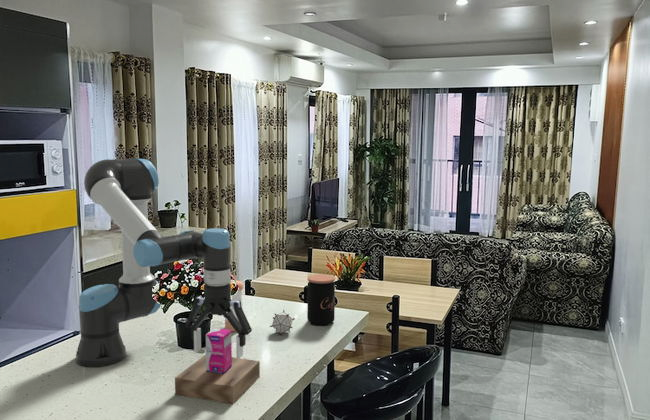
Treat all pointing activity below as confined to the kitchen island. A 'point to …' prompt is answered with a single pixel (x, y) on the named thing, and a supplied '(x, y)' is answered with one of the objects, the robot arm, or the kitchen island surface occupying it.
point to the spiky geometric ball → (282, 322)
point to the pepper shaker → (235, 298)
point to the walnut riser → (217, 380)
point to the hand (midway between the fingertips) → (218, 353)
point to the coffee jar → (321, 299)
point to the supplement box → (218, 350)
